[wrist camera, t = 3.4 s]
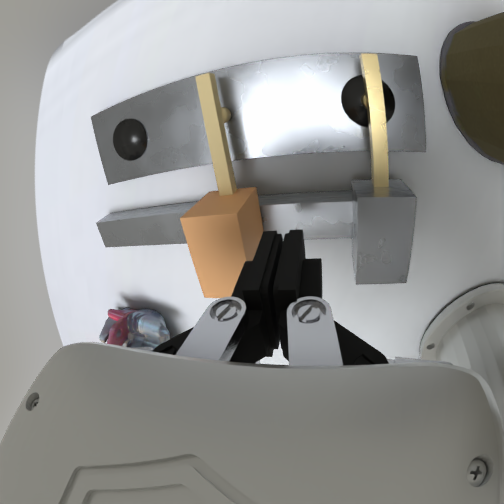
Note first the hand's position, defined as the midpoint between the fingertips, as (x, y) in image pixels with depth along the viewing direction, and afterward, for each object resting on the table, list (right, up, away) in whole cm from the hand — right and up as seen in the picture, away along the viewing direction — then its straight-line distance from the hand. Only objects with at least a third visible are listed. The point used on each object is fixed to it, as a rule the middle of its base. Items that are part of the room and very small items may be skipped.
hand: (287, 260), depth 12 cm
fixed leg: (+6, +6, +2) cm, 8 cm away
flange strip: (-2, +9, +4) cm, 10 cm away
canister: (+15, +11, -2) cm, 19 cm away
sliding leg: (-3, +5, +5) cm, 8 cm away
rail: (-3, +3, +8) cm, 9 cm away
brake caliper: (-13, -9, +18) cm, 24 cm away
